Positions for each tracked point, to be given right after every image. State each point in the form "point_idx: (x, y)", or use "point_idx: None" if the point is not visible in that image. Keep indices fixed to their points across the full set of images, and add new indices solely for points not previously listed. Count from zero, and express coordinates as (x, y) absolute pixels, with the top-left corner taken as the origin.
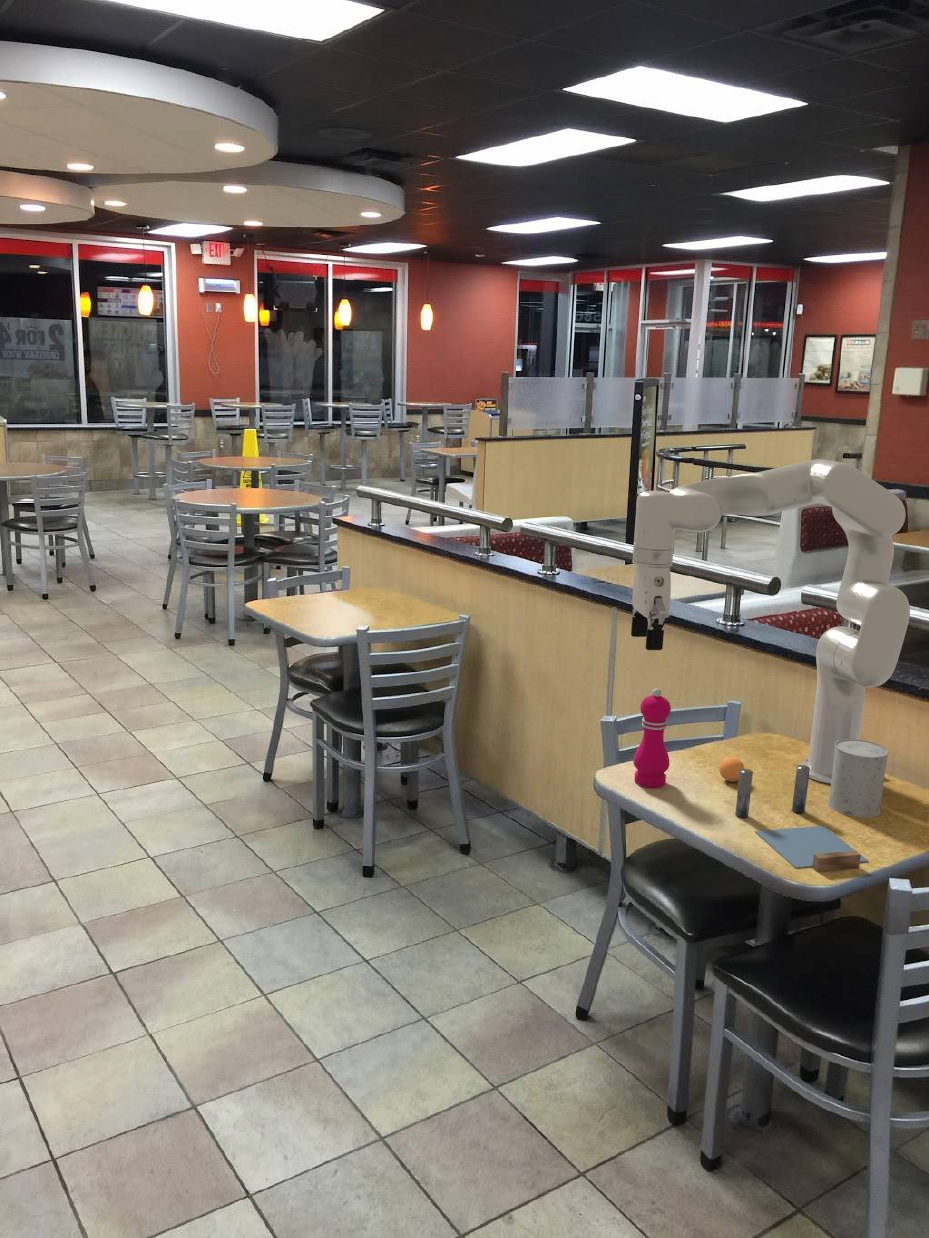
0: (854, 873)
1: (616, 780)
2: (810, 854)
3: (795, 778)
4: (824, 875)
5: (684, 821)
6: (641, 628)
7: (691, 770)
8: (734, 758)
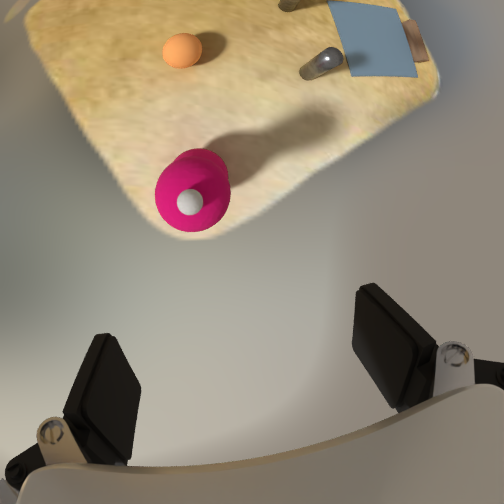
0: None
1: None
2: (394, 49)
3: None
4: None
5: (329, 151)
6: (117, 388)
7: (146, 107)
8: (182, 42)
